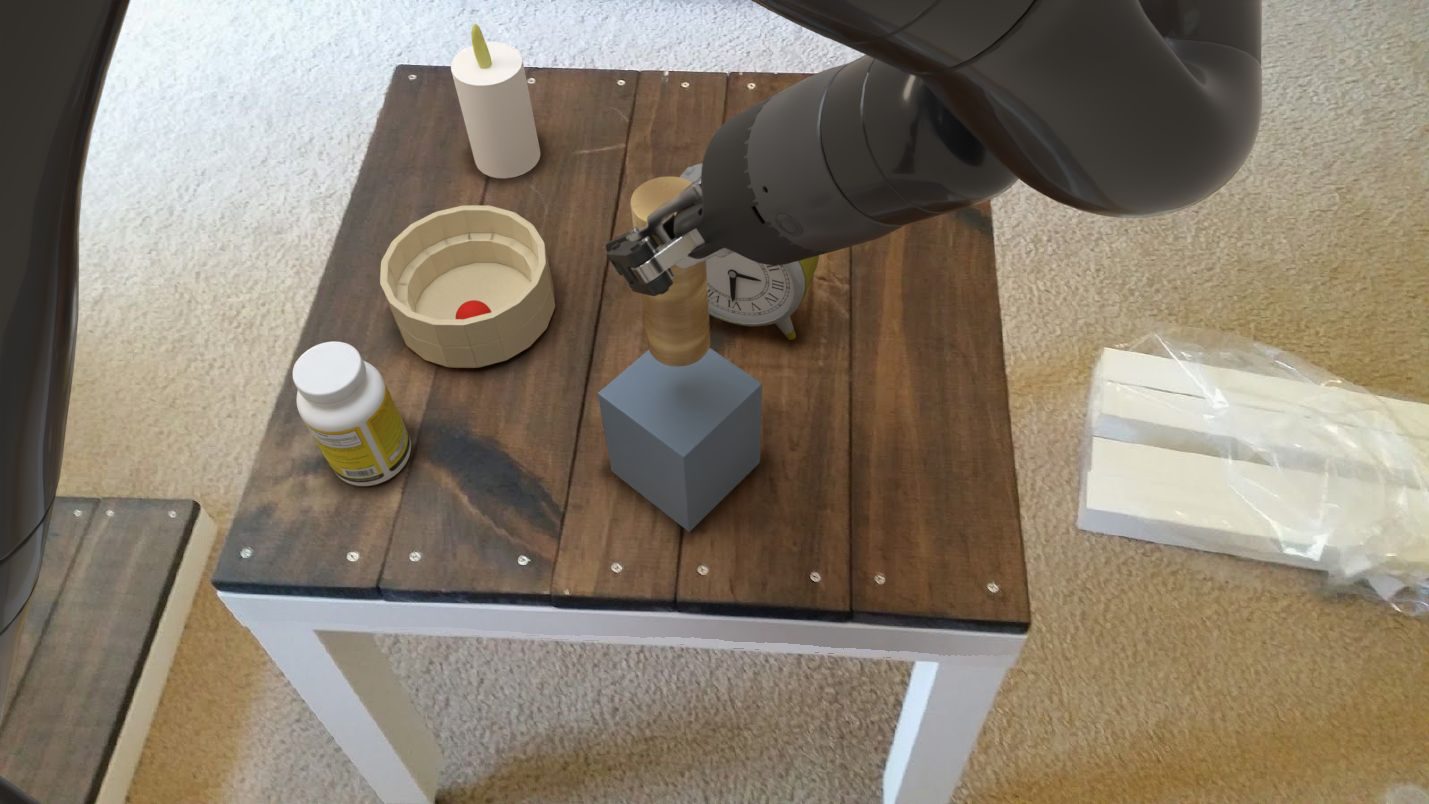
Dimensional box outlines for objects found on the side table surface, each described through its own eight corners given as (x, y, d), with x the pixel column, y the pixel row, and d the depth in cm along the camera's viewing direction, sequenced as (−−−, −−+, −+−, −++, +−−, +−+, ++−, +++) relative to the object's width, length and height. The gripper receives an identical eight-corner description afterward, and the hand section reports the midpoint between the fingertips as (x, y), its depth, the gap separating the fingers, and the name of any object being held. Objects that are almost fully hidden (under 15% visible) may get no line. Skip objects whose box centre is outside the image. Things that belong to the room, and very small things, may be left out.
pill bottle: (389, 409, 83) (347, 317, 74) (427, 459, 80) (388, 371, 71) (317, 450, 81) (265, 361, 72) (354, 503, 78) (304, 418, 69)
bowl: (470, 400, 84) (453, 352, 79) (367, 317, 89) (346, 268, 84) (588, 305, 89) (580, 256, 85) (484, 232, 95) (471, 182, 90)
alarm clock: (665, 320, 88) (654, 185, 76) (694, 264, 92) (687, 127, 80) (798, 356, 86) (808, 222, 74) (821, 297, 90) (835, 160, 77)
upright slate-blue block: (689, 532, 76) (683, 457, 68) (611, 471, 79) (597, 393, 71) (760, 462, 80) (762, 383, 72) (682, 407, 83) (676, 324, 75)
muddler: (679, 377, 65) (666, 235, 56) (635, 345, 67) (615, 201, 58) (723, 341, 67) (717, 197, 58) (678, 310, 69) (666, 166, 59)
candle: (541, 131, 103) (515, -7, 91) (539, 176, 99) (512, 38, 87) (477, 135, 103) (442, -3, 91) (472, 180, 99) (436, 42, 87)
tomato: (469, 297, 84) (483, 289, 87) (442, 317, 85) (456, 309, 88) (492, 327, 84) (505, 319, 87) (465, 347, 85) (478, 338, 88)
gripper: (874, 20, 49) (691, 121, 64) (666, 178, 43) (517, 249, 58) (951, 157, 51) (757, 224, 66) (763, 327, 45) (596, 359, 60)
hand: (646, 236), depth 62 cm, fingers closed on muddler, 4 cm apart
